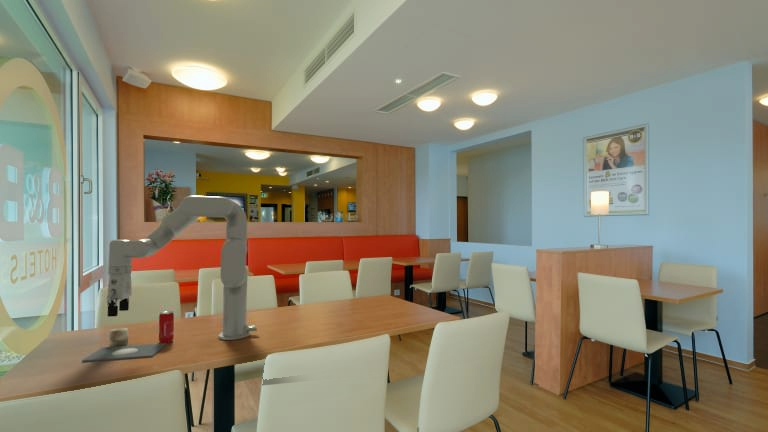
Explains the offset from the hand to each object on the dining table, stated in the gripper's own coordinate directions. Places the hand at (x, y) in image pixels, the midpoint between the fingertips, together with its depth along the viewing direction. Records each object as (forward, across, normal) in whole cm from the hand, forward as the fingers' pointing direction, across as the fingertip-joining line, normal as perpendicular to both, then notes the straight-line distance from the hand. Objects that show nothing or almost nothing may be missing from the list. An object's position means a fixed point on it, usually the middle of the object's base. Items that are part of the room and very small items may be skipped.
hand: (118, 313), depth 147 cm
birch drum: (+13, 0, -1) cm, 13 cm away
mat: (+12, -11, -8) cm, 18 cm away
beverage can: (+12, 0, -18) cm, 22 cm away
